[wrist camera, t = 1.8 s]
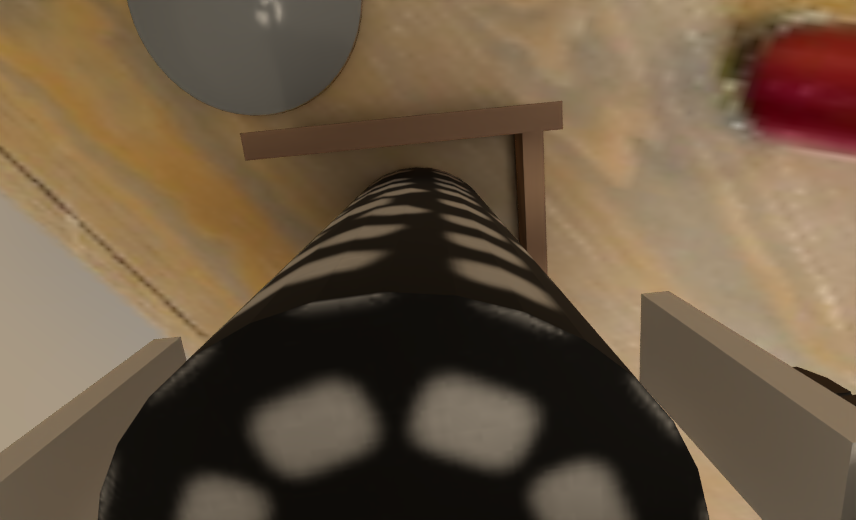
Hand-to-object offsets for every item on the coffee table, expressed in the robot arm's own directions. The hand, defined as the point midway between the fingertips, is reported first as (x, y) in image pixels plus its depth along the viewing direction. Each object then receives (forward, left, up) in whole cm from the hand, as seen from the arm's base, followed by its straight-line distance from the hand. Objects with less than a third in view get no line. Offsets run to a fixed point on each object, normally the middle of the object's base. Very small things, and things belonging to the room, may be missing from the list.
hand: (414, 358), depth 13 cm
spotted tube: (0, 0, -13) cm, 13 cm away
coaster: (-13, -7, -13) cm, 20 cm away
